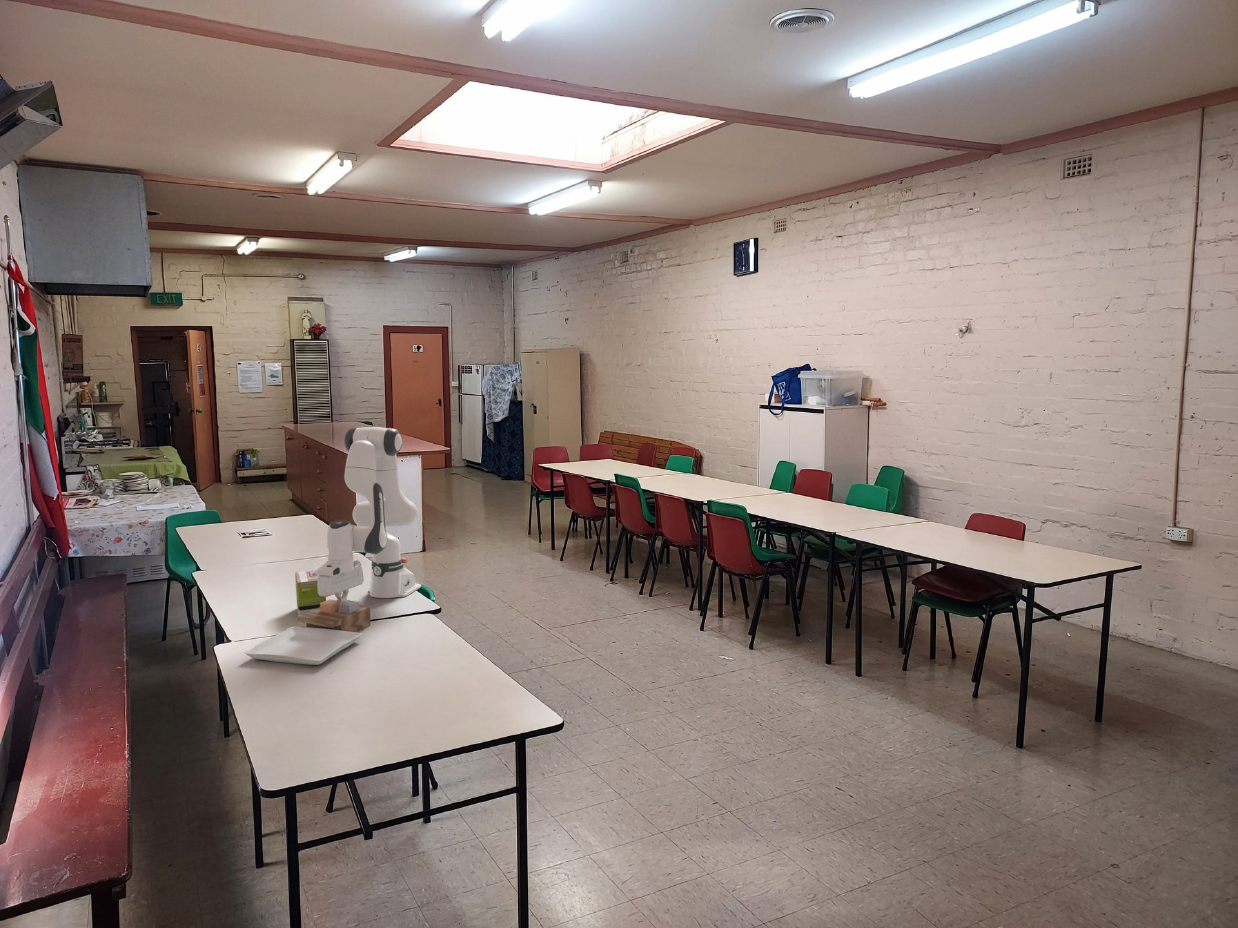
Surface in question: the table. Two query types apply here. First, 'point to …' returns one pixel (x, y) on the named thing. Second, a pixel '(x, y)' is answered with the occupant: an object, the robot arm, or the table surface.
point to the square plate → (303, 645)
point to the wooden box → (337, 619)
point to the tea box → (307, 591)
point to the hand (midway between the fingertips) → (342, 602)
